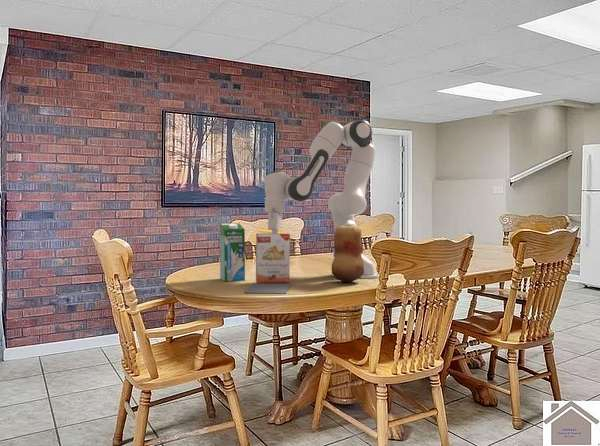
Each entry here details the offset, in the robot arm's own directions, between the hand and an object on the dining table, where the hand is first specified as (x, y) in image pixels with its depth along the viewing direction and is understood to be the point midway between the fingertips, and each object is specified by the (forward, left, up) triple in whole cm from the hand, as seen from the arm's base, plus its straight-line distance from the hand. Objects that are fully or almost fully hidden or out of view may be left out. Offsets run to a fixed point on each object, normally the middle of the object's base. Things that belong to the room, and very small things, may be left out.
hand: (275, 238), depth 220 cm
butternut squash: (-32, +6, -18) cm, 37 cm away
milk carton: (+19, +1, -18) cm, 26 cm away
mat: (0, +23, -18) cm, 30 cm away
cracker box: (0, +9, -18) cm, 20 cm away
